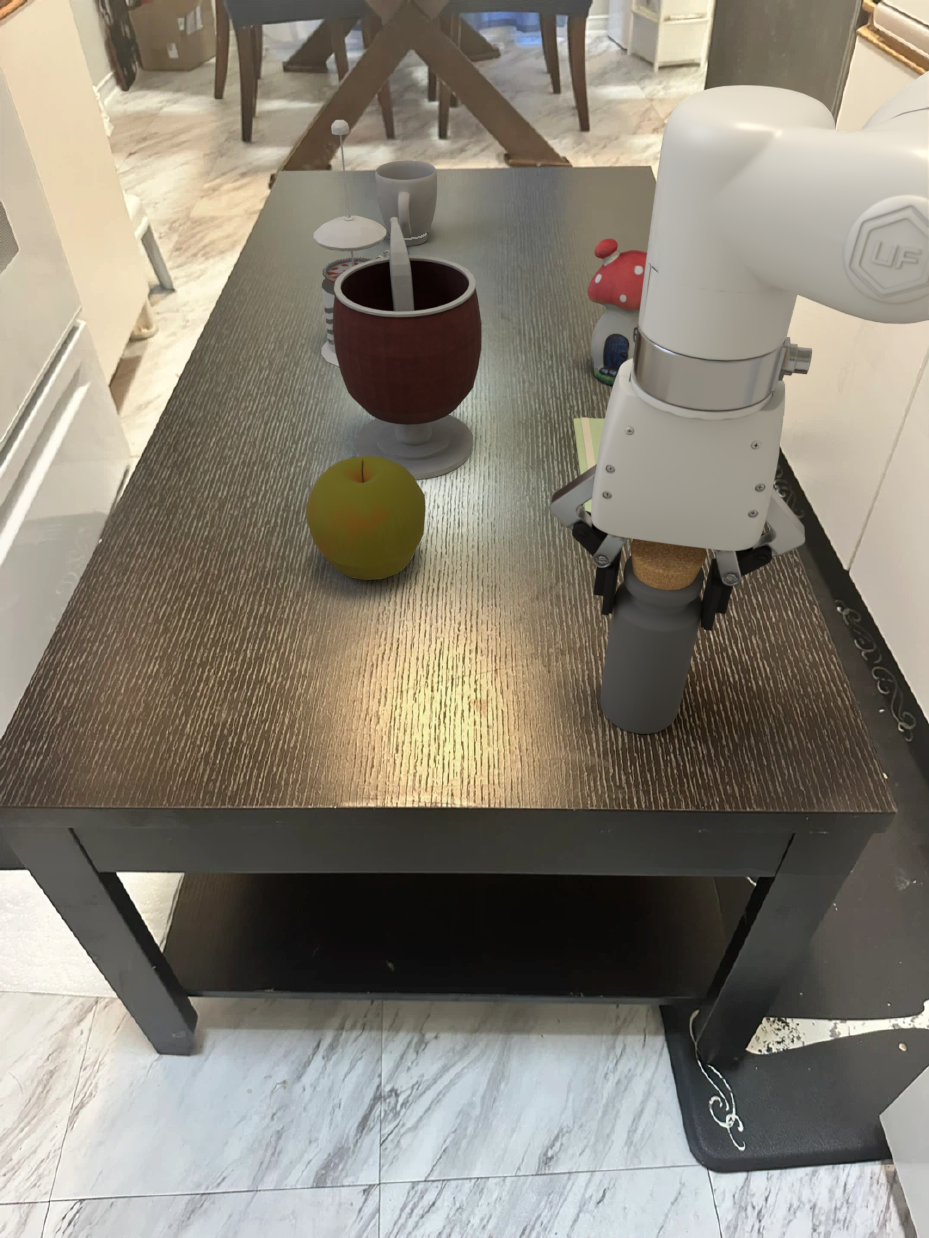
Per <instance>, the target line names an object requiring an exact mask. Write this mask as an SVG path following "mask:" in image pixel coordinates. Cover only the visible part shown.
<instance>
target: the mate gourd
mask: <svg viewBox="0 0 929 1238" xmlns="http://www.w3.org/2000/svg"><path fill="white" fill-rule="evenodd" d="M390 224H391V236H390V238H389V239H390V240H389V251H390V254H389V256H386V257H385V258H384V257H383V258H378V259H376V258H375V259H374V258H373V260H370V261H367V262H364V263H361V264H358V265H356V266H353V267H351V268H350V269H348V270H346V271H345V272H343V273H342V274H341V275H340V276H339V277H338V278H337V280H336V282H335V285H334V292H335V297H334V305H333V336H334V345H335V353H336V357H337V360H338V364H339V371H340V374H341V378H342V381H343V383H344V385H345V388H346V390H347V393H348V395H350V397H351V398H352V399H353V400H354V401H355V402H356V403H357V404H358V405H359V406H360V407H362V409H364V410H365V412H367V413H368V414H369V415H370V416H372V417H373V418H374V419H371V420H370V421H368V422H367V423H366V424H365V425H363V426H362V427H361V428H360V429H359V431H358V432H357V433H356V436H355V438H354V453H355V457H360V456H376V457H382V458H385V459H388V460H391V461H393V462H395V463H397V464H399V465H401V466H403V467H405V468H406V469H407V470H408V471H409V472H410V473H411V475H412V476H413V477H414V478H415V480H425V479H432V478H436V477H439V476H443V475H446V474H449V473H451V472H453V471H455V470H457V469H458V468H460V467H461V466H462V465H464V464H465V462H467V461H468V460H469V459H470V457H471V455H472V453H473V450H474V436H473V432H472V431H471V429H470V427H469V426H467V424H466V423H464V421H462V420H460V419H459V418H457V417H456V416H453V415H451V414H452V413H453V412H454V411H456V409H457V408H458V407H459V406H460V405H461V404H462V403H463V401H465V399H466V398H467V397H468V395H469V394H470V393H471V391H472V390H473V388H474V386H475V383H476V378H477V375H478V370H479V365H480V359H481V353H482V335H483V334H482V328H483V327H482V325H483V324H482V318H481V317H482V316H481V310H480V304H479V297H478V292H477V288H476V287H477V286H476V285H477V284H476V283H477V282H476V278H475V276H474V275H473V273H472V272H471V271H470V270H469V269H467V268H466V267H465V266H463V265H460V264H459V263H457V262H454V261H451V260H448V259H444V258H439V257H434V256H433V257H432V256H426V255H409V251H408V248H407V247H408V246H406V244H405V240H404V237H403V234H402V231H401V228H400V226H399V221H398V218H397V217H392V218H391V219H390Z"/></svg>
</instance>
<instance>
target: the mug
mask: <svg viewBox="0 0 929 1238" xmlns="http://www.w3.org/2000/svg"><path fill="white" fill-rule="evenodd" d="M374 179H375V190H376V197H377V202H378V207H379V211H380V215H381V218H382V220H383V223H384V225H385V227H386V230H387V231H388V234H389V235H390V233H391V224H390V219H391V218H392V217H397V218H398V221H399V226H400V228H401V231H402V234H403V237H404V238H411V237H418V236H421V235H423V234H425V233H427V232H428V231H429V232H430V229H431V227H432V225H433V222H434V218H435V214H436V213H435V212H436V208H437V207H436V206H437V197H438V171H437V168H436V167H435V166H434V165H433V164H431V163H429V162H426V161H421V160H410V159H409V160H408V159H407V160H396V161H390V162H387V163H383V164H381V165H379V166H378V167H377V168H376V169H375V172H374ZM429 232H428V234H427V235H426V236H424V237H422V238H418V239H412V240H405V244H406V247H409V246H410V247H412V246H418V245H421V244H423V243H425V242H427V240H428V236H429ZM390 237H391V235H390Z"/></svg>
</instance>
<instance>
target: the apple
mask: <svg viewBox="0 0 929 1238" xmlns="http://www.w3.org/2000/svg"><path fill="white" fill-rule="evenodd" d="M305 511H306V512H305V516H306V522H307V526H308V528H309V529H308V530H309V531H310V535H311V539H312V541H313V544H314V545H315V546H316V548H317V550H319V553H321V554H322V556H323V557H324V558H325V559H326V561H327V562H328V563H329V564H330V565H331V566H332V567H333V568H334V570H335V571H336V572H339V573H340V574H341V575H344V576H346V577H349V578H352V579H353V578H354V579H359V580H363V581H369V580H370V581H371V580H372V581H373V580H383V579H386V578H389V577H392V576H395V575H398V574H399V573H400V572H401V571H403V570H404V569H405V568H406V567H407V566H409V564H410V562H411V560H412V559H413V556H414V555H415V553H416V550H417V549H418V547H419V545H420V543H421V540H422V539H423V536H424V535H425V524H426V511H427V509H426V495H425V493H424V492H423V490H422V488H421V486H420V485H419V484H418V481H417V479H415V478H414V477H413V476H412V475H411V473H410V472H409V471H408V470H407V469H406V468H405V467H403V466H401V465H399V464H397V463H395V462H393V461H391V460H388V459H385V458H382V457H376V456H360V457H357V456H352V457H349V458H346V459H342V460H339V461H338V462H336V463H334V464H332V465H331V466H330V467H328V468H327V469H326V470H325V471H324V472H323V473H322V474H321V475H320V476H319V477H318V479H317V480H316V481H315V483H314V485H313V486H312V489H311V491H310V494H309V496H308V500H307V501H306V504H305Z"/></svg>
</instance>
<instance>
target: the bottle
mask: <svg viewBox="0 0 929 1238" xmlns="http://www.w3.org/2000/svg"><path fill="white" fill-rule="evenodd" d="M706 549H707V548H698V547H690V546H683V545H675V544H668V543H660V542H653V541H646V540H639V539H633V538H632V539H631V543H630V556H629V557H628V558H627V559H626V561H625V562H624V563H625V564H624V567H623V573H622V574H623V575H622V580H623V581H622V582H621V584H620V585H619V586H617V588H616V593H615V598H614V605H613V611H612V614H611V616H610V623H609V630H608V638H607V645H606V650H605V656H604V664H603V665H604V666H603V672H602V677H601V678H602V679H601V686H600V695H599V702H600V708H601V710H602V713H603V714H604V716H605V717H606V718H607V720H608V721H609V722H611V723H612V724H613V725H614V726H616V727H618V728H619V729H621V730H623V731H625V732H630V733H633V734H638V735H645V734H648V735H649V734H654V733H658V732H661V731H663V730H665V729H667V728H668V727H670V726H671V725H672V724H673V723H674V721H675V719H676V718H677V716H678V714H679V710H680V707H681V704H682V699H683V695H684V690H685V687H686V683H687V680H688V679H687V678H688V674H689V671H690V666H691V661H692V657H693V653H694V649H695V646H696V641H697V637H698V633H699V629H700V626H701V615H702V607H703V606H702V598H701V596H700V594H701V592H702V589H703V587H704V581H705V571H704V569H703V565H704V563H705V562H706V558H707V550H706Z"/></svg>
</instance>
